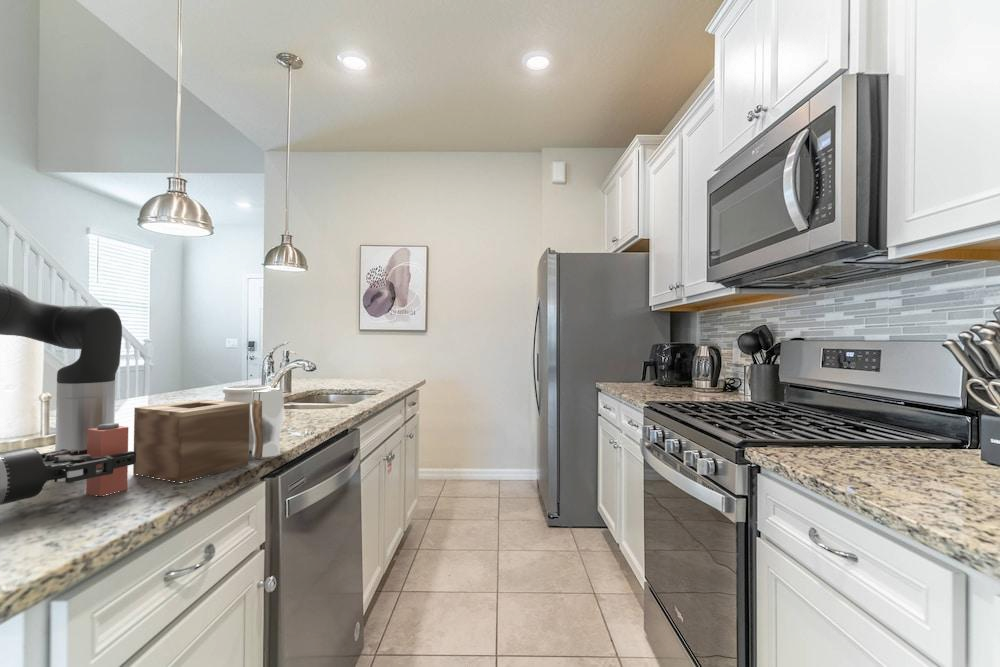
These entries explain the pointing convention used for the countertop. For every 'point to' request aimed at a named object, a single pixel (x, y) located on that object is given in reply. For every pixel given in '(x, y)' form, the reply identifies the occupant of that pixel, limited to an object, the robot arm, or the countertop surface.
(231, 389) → the jar
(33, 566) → the countertop surface
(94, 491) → the spice tin
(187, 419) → the slot box
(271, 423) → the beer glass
